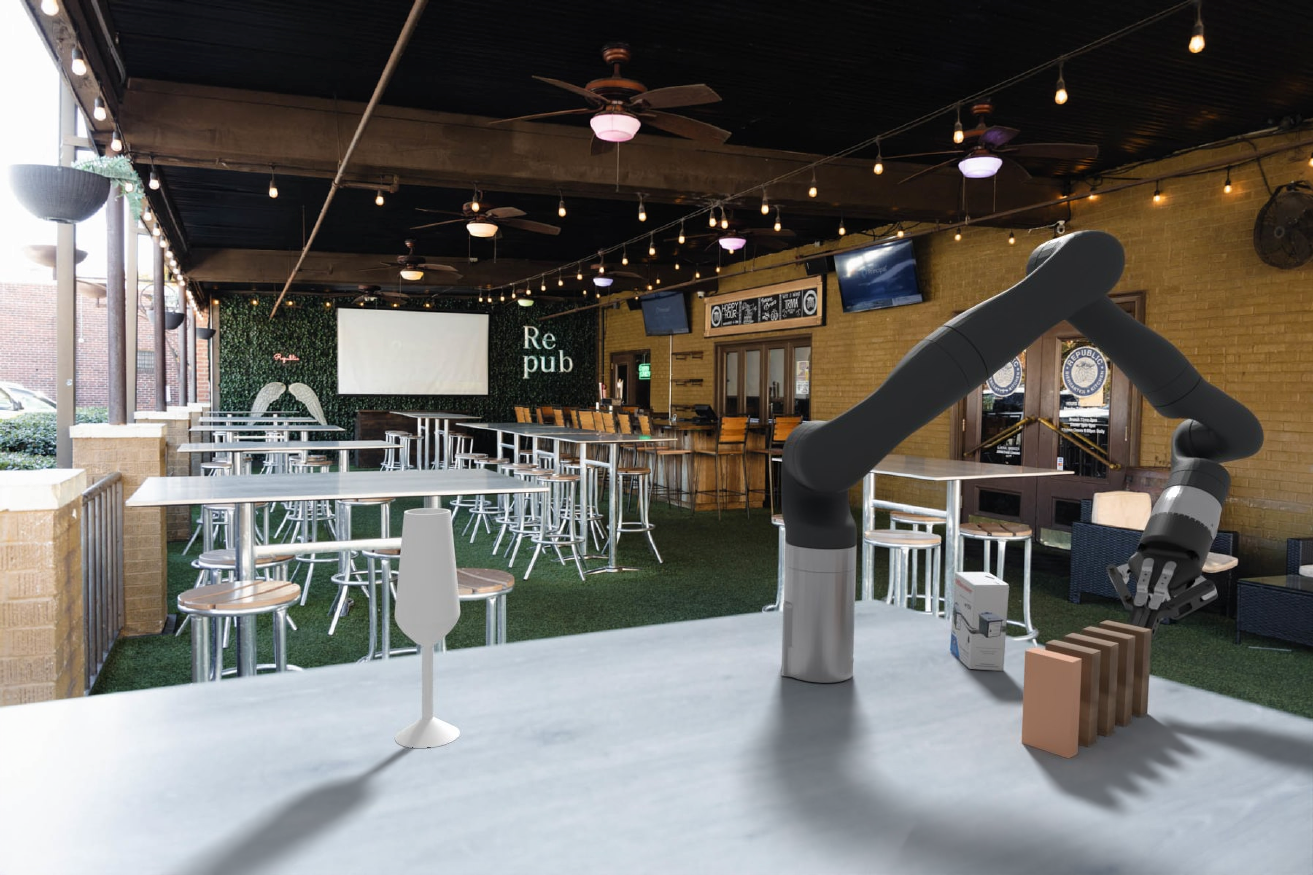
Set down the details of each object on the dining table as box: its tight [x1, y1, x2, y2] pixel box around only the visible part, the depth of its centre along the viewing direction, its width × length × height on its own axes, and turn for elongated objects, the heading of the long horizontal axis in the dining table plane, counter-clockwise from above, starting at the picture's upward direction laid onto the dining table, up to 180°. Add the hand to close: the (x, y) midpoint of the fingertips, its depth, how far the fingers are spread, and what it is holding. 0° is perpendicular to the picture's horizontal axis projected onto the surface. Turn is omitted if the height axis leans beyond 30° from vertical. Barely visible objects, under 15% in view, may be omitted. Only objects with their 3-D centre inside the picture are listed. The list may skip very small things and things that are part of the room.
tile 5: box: [1021, 646, 1082, 759], centre depth 90 cm, size 2×5×10 cm, turn 40°
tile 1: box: [1098, 619, 1152, 718], centre depth 102 cm, size 2×5×10 cm, turn 40°
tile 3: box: [1063, 632, 1119, 738], centre depth 96 cm, size 2×5×10 cm, turn 40°
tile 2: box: [1081, 625, 1135, 727], centre depth 99 cm, size 2×5×10 cm, turn 40°
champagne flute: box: [394, 507, 461, 749], centre depth 91 cm, size 7×7×24 cm
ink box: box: [950, 571, 1010, 672], centre depth 119 cm, size 9×5×12 cm, turn 179°
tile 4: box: [1044, 639, 1101, 748], centre depth 93 cm, size 2×5×10 cm, turn 40°
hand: (1137, 638), depth 104 cm, fingers closed
